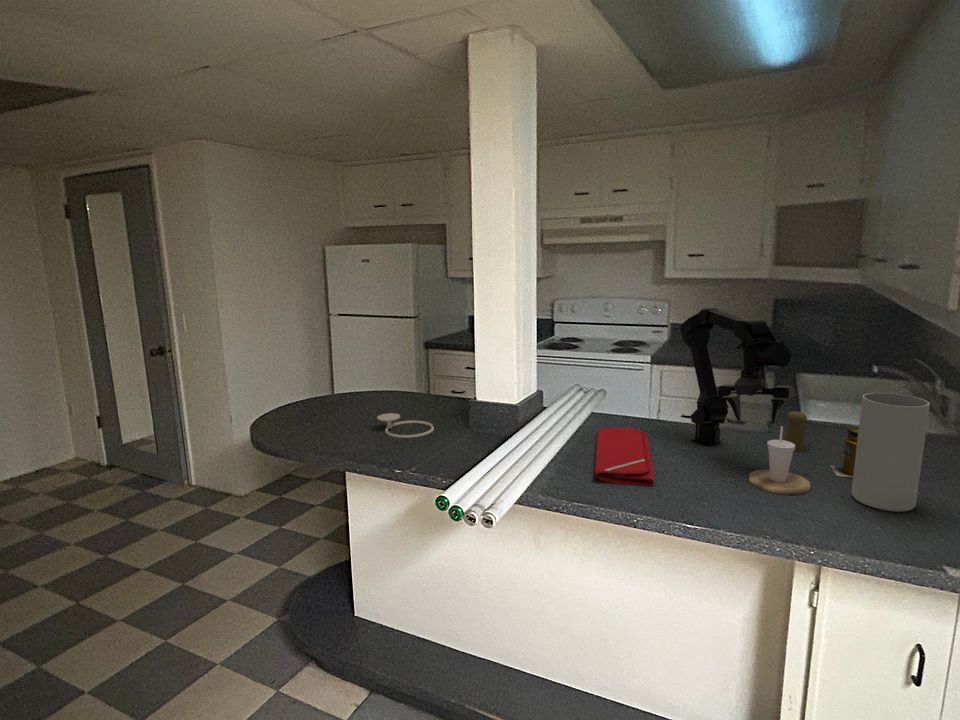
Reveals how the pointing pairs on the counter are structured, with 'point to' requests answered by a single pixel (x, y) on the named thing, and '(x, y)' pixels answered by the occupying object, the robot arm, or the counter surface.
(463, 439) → the counter surface
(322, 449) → the counter surface
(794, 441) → the cork
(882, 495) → the cylinder vase
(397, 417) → the hand towel holder
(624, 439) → the dish drying mat
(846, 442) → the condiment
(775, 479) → the smoothie
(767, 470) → the plate
